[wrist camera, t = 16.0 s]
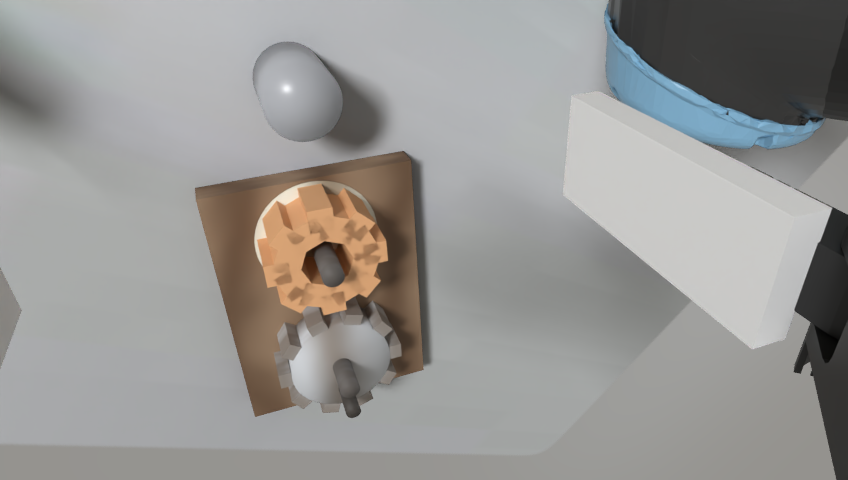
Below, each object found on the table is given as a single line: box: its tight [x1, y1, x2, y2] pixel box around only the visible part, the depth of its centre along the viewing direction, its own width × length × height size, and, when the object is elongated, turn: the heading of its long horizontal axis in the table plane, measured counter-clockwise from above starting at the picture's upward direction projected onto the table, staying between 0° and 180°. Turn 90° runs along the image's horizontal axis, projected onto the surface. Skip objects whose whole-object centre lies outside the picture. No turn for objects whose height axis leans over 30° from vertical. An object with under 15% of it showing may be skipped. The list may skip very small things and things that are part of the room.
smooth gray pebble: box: [253, 42, 343, 142], centre depth 40 cm, size 5×5×6 cm
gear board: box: [195, 151, 423, 418], centre depth 49 cm, size 16×22×8 cm
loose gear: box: [257, 184, 388, 315], centre depth 45 cm, size 9×9×4 cm
